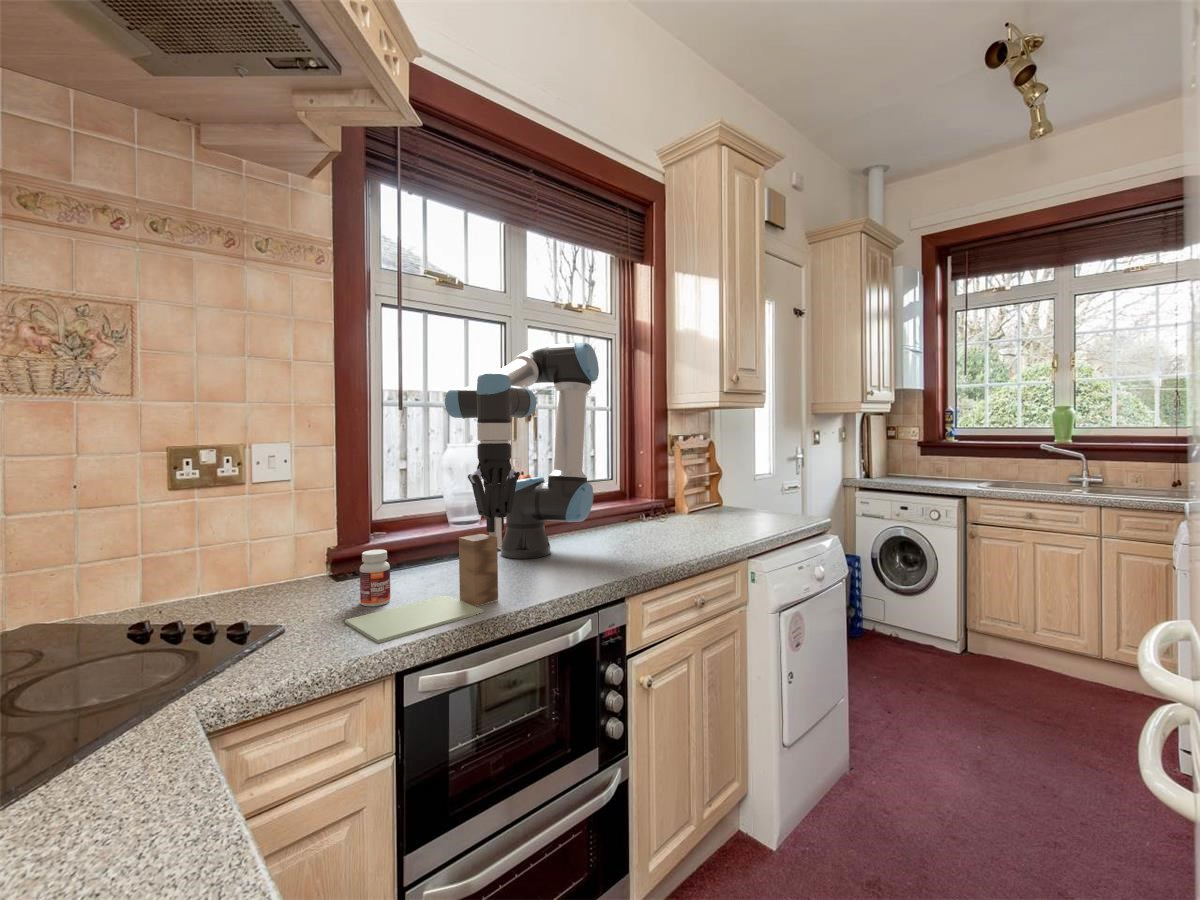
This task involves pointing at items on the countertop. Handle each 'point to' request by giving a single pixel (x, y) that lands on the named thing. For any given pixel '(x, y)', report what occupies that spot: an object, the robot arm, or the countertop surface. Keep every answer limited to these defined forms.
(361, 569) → the pill bottle
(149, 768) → the countertop surface
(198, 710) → the countertop surface
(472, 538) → the walnut block
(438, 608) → the board
